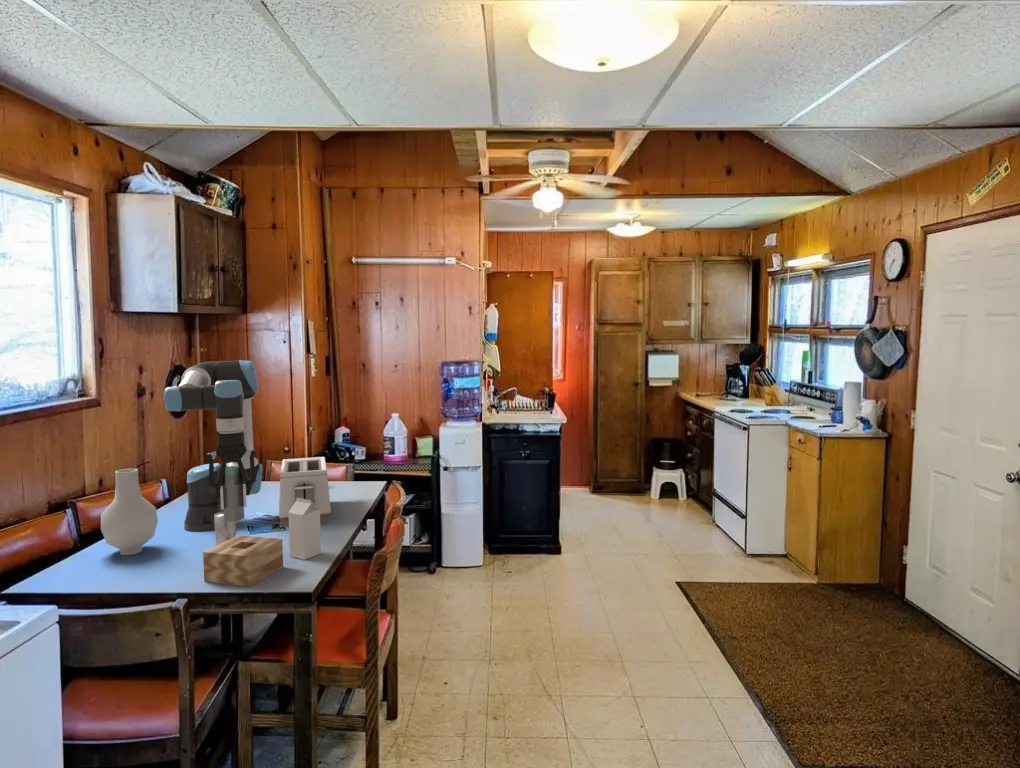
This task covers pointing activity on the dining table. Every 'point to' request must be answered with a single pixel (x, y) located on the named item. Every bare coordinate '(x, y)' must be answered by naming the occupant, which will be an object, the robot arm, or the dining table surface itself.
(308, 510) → the milk carton
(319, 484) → the toaster
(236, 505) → the square bit
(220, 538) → the round bit
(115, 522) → the vase
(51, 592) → the dining table surface
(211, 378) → the robot arm
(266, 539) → the socket block
